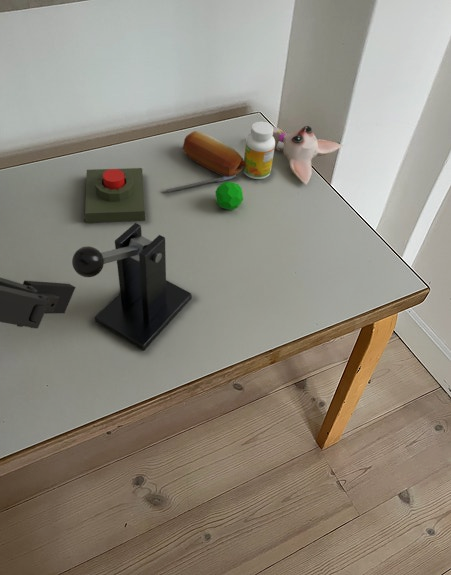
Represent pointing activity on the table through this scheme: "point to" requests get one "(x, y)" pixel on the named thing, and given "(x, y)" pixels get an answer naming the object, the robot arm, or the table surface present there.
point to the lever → (105, 256)
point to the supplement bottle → (259, 151)
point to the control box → (114, 197)
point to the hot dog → (213, 154)
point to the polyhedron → (229, 195)
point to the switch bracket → (142, 294)
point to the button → (113, 179)
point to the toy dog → (303, 150)
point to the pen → (201, 183)
